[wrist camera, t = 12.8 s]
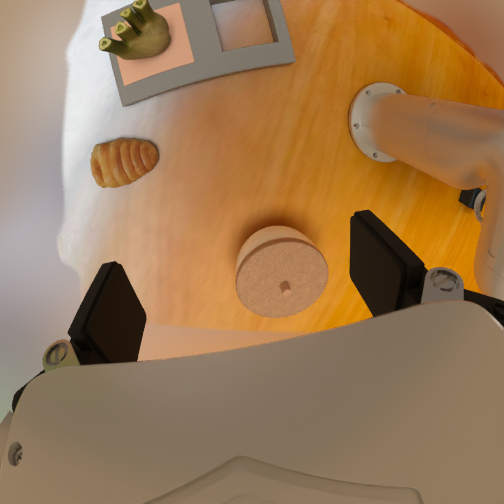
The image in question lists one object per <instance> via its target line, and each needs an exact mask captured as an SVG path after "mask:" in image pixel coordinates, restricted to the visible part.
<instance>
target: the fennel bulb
mask: <svg viewBox="0 0 504 504" xmlns="http://www.w3.org/2000/svg"><path fill="white" fill-rule="evenodd" d="M132 8H133V9H134V11H135V13H134V11H132V10H131V9H130V8H126V9H124V10H123V11H122V12H120V16H122V17H123V18H124V19H125V20H126V21H127V22H128V24H129V25H130V26H131V27H130V26H129V25H126V24H125V23H124V22H122V21H119V22H118V23H117V24H116V25H115V34H116V35H117V36H119V37H120V38H121V39H122V40H121V41H119V40H115V39H111V38H106V37H103V38H102V39H101V40H100V41H99V48H100V50H102V51H106V52H110V53H113V54H115V55H117V56H119V57H120V58H122V59H124V60H137V59H145V58H148V57H152V56H155V55H158V54H160V53H162V52H163V51H164V50H165V49H166V48H167V47H168V45H169V44H170V41H171V36H170V34H169V26H168V23H167V21H166V19H165V18H164V17H163V16H162V15H160V14H158V13H156V12H154V11H153V10H152V8H151V6H150V4H149V2H148V0H136V1H134V3H132Z"/></svg>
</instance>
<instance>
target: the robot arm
mask: <svg viewBox="0 0 504 504" xmlns="http://www.w3.org/2000/svg"><path fill="white" fill-rule="evenodd" d="M366 92H367V94H366ZM348 121H349V129H350V133H351V136H352V139H353V141H354V143H355V144H356V146H357V147H358V149H359V150H360V151H361V152H362V153H363V154H365V155H366V156H368V157H369V158H371V159H373V160H376V161H379V162H393V161H396V160H399V161H401V162H404V163H406V164H408V165H410V166H412V167H414V168H416V169H418V170H420V171H422V172H424V173H426V174H428V175H430V176H432V177H434V178H435V179H437V180H439V181H441V182H443V183H445V184H447V185H449V186H451V187H453V188H456V189H460V190H470V189H474V188H478V187H480V186H483V185H485V184H486V185H487V191H486V200H485V211H484V217H483V222H482V227H481V232H480V236H479V241H478V245H477V249H476V254H475V259H474V276H475V279H476V282H477V285H478V286H479V288H480V290H481V291H482V292H483V293H484V294H485V295H483V294H480V293H476V292H473V291H469V290H466V289H464V284H463V280H462V278H461V277H460V276H459V275H458V274H457V273H456V272H455V271H453V270H451V269H448V268H443V267H437V268H433V269H430V270H429V271H428V270H427V269H426V268H425V267H424V265H425V264H424V263H423V262H422V261H421V260H420V259H419V257H418V256H417V255H416V254H415V253H414V252H413V251H412V250H411V249H410V248H409V247H408V246H407V245H406V244H405V243H404V242H403V241H402V240H401V239H400V238H399V237H398V236H397V235H396V234H395V233H394V232H392V231H391V230H390V229H389V228H388V227H387V226H386V225H385V224H384V223H383V222H382V221H381V220H380V219H379V218H378V217H376V216H375V215H374V214H373V213H372V212H371V211H370V210H363V211H358V212H355V213H354V216H351V219H350V277H351V280H352V282H353V283H354V285H355V286H356V288H357V290H358V291H359V293H360V295H361V296H362V298H363V300H364V301H365V303H366V305H367V306H368V308H369V310H370V311H371V313H372V315H373V317H372V318H369V319H365V320H362V321H358V322H354V323H351V324H347V325H343V326H339V327H336V328H332V329H328V330H324V331H319V332H315V333H311V334H307V335H302V336H298V337H293V338H289V339H284V340H279V341H275V342H270V343H264V344H259V345H254V346H248V347H243V348H237V349H231V350H225V351H219V352H212V353H206V354H198V355H191V356H183V357H175V358H167V359H159V360H158V359H157V360H147V361H137V359H138V354H139V350H140V345H141V341H142V336H143V331H144V328H145V324H146V313H145V311H144V309H143V307H142V305H141V303H140V301H139V299H138V297H137V295H136V293H135V291H134V289H133V287H132V285H131V283H130V281H129V279H128V277H127V275H126V273H125V271H124V269H123V267H122V265H121V264H118V263H117V262H116V261H113V262H109V263H104V264H102V266H101V267H100V269H99V271H98V273H97V275H96V276H95V278H94V280H93V282H92V284H91V286H90V288H89V290H88V291H87V293H86V295H85V297H84V299H83V301H82V303H81V305H80V307H79V309H78V311H77V313H76V315H75V318H74V320H73V322H72V324H71V326H70V328H69V330H68V334H69V336H70V337H71V340H70V342H69V341H68V340H63V339H62V340H58V341H56V342H54V343H53V344H52V345H50V346H49V347H48V349H47V350H46V351H45V353H44V356H43V366H44V370H43V371H42V372H40V373H39V374H38V375H37V376H35V377H34V378H33V379H32V380H31V381H29V382H28V383H27V384H26V385H24V386H23V387H22V388H21V389H20V390H18V391H17V392H16V393H15V395H14V398H13V402H12V410H13V413H12V412H11V411H9V412H8V414H7V415H6V417H5V418H4V419H3V421H2V422H1V424H0V504H504V110H500V109H493V108H487V107H481V106H476V105H470V104H465V103H461V102H455V101H449V100H444V99H437V98H431V97H424V96H416V95H408V94H407V93H406V92H404V91H403V90H402V89H401V88H399V87H397V86H396V85H393V84H390V83H383V82H380V83H373V84H369V85H367V86H366V87H364V88H363V89H361V90H360V91H359V92H358V93H357V95H356V96H355V97H354V99H353V101H352V103H351V106H350V110H349V119H348ZM354 124H355V127H354Z"/></svg>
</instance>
